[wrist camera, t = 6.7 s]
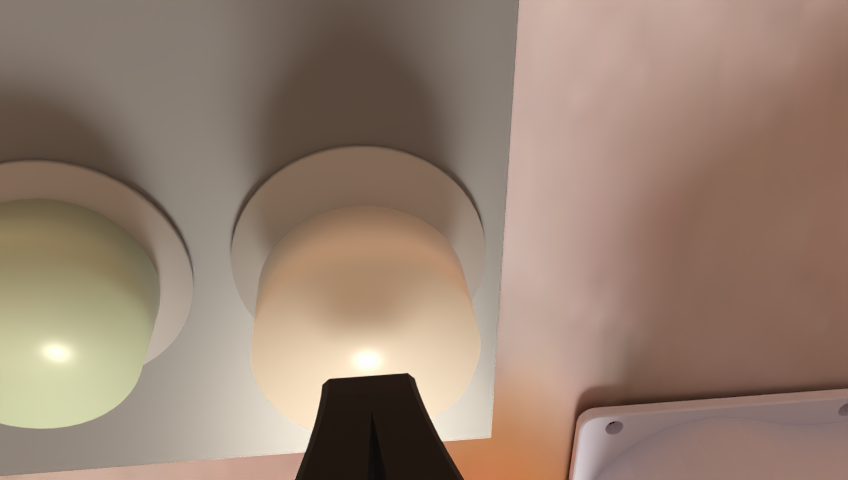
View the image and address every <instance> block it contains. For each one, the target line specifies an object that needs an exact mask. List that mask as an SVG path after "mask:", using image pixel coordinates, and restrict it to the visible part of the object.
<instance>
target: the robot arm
mask: <svg viewBox="0 0 848 480" xmlns="http://www.w3.org/2000/svg"><path fill="white" fill-rule="evenodd" d="M614 421H616V422H615V423H613V424H610V425H608V424H609V423H611V422H614ZM295 480H464V479H463V477H462V475H461V474H460V472H459V470H458V469H457V467H456V465H455V464H454V462H453V460H452V458H451V457H450V455H449V453H448V452H447V450H446V448H445V446H444V444H443V442H442V441H441V439H440V437H439V435H438V433H437V431H436V429H435V427H434V425H433V423H432V421H431V419H430V417H429V414H428V412H427V410H426V408H425V405H424V403H423V401H422V398H421V396H420V393H419V390H418V387H417V384H416V381H415V378H414V377H412V376H411V375H410V374H408V373H401V374H387V375H373V376H359V377H346V378H332V379H328V380H327V381H326V382H325V383H324V384H323V385H322V391H321V398H320V403H319V408H318V412H317V416H316V420H315V424H314V427H313V430H312V434H311V437H310V440H309V443H308V446H307V449H306V452H305V455H304V457H303V460H302V463H301V465H300V468H299V471H298V473H297V476H296V479H295ZM569 480H848V389H835V390H822V391H809V392H795V393H782V394H769V395H756V396H743V397H730V398H716V399H703V400H690V401H677V402H664V403H651V404H637V405H624V406H611V407H598V408H592V409H588V410H586V411H585V412H583V413H582V414H581V415H580V416H579V418H578V420H577V424H576V431H575V438H574V445H573V452H572V459H571V467H570V474H569Z"/></svg>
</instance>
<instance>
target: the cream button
mask: <svg viewBox="0 0 848 480" xmlns="http://www.w3.org/2000/svg"><path fill="white" fill-rule="evenodd" d="M479 354H480V335H479V330H478V325H477V321H476V317H475V314H474V310H473V306H472V302H471V298H470V295H469V291H468V287H467V283H466V279H465V276H464V272H463V268H462V265H461V263H460V260H459V257H458V256H457V254H456V252H455V250H454V249H453V247H452V246H451V244H450V243H449V242H448V241H447V239H446V238H445V237H444V236H443V235H442V234H441V233H440V232H439V231H438V230H436V229H435V228H434V227H432V226H431V225H429V224H428V223H427V222H425V221H423V220H421V219H419V218H417V217H416V216H414V215H411V214H408V213H406V212H403V211H400V210H396V209H392V208H387V207H379V206H351V207H343V208H339V209H334V210H330V211H327V212H324V213H321V214H319V215H316V216H314V217H312V218H310V219H308V220H306V221H304V222H302V223H301V224H299V225H298V226H296V227H295V228H293V229H292V230H291V231H289V232H288V233H287V234H286V235H285V236H284V237H282V239H281V240H280V241H279V242H278V243H277V244H276V245H275V246H274V248H273V249H272V251H271V252H270V254H269V255H268V257H267V259H266V261H265V263H264V265H263V268H262V271H261V274H260V278H259V284H258V292H257V301H256V310H255V318H254V327H253V336H252V344H251V365H252V369H253V373H254V376H255V379H256V381H257V384H258V386H259V388H260V389H261V391H262V392H263V394H264V396H265V397H266V398H267V399H268V400H269V402H270V403H271V404H272V405H273V406H274V407H275V408H276V409H277V410H278V411H280V412H281V413H282V414H283V415H285V416H286V417H288V418H289V419H291V420H292V421H294V422H296V423H298V424H300V425H301V426H303V427H306V428H308V429H311V430H313V427H314V424H315V420H316V416H317V412H318V408H319V403H320V398H321V391H322V385H323V384H324V383H325V382H326V381H327V380H328V379H332V378H346V377H359V376H373V375H387V374H401V373H408V374H410V375H411V376H412V377H414V378H415V381H416V384H417V387H418V390H419V393H420V396H421V398H422V401H423V403H424V405H425V408H426V410H427V412H428V414H429V417H430V419H433V418H435V417H436V416H438V415H439V414H440V413H442V412H443V411H445V410H446V409H447V408H448V407H449V406H450V405H452V404H453V403H454V402H455V401H456V400H457V399H458V398H459V396H460V395H461V394H462V393H463V392H464V390H465V389H466V387H467V386H468V384H469V383H470V381H471V379H472V377H473V375H474V373H475V371H476V367H477V364H478V361H479Z"/></svg>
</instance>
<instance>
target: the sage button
mask: <svg viewBox="0 0 848 480" xmlns="http://www.w3.org/2000/svg"><path fill="white" fill-rule="evenodd" d="M159 306H160V285H159V280H158V277H157V273H156V270H155V268H154V266H153V264H152V262H151V260H150V258H149V257H148V255H147V254H146V252H145V250H144V249H143V248H142V247H141V246H140V244H139V243H138V242H137V241H136V240H135V239H134V238H133V237H132V236H131V235H130V234H129V233H128V232H127V231H126V230H124V229H123V228H121V227H120V226H119V225H117V224H116V223H115V222H113V221H111V220H110V219H108V218H106V217H104V216H103V215H101V214H99V213H96V212H94V211H92V210H90V209H87V208H84V207H81V206H78V205H75V204H72V203H67V202H62V201H58V200H49V199H21V200H13V201H8V202H4V203H0V423H1V424H5V425H9V426H16V427H22V428H36V429H46V428H60V427H68V426H72V425H77V424H81V423H84V422H87V421H90V420H93V419H95V418H97V417H100V416H102V415H104V414H106V413H107V412H109V411H110V410H112V409H114V408H115V407H116V406H117V405H119V404H120V403H121V402H122V401H123V400H124V399H125V398H126V397H127V396H128V395H129V394H130V392H131V391H132V390H133V388H134V386H135V385H136V383H137V381H138V379H139V376H140V374H141V371H142V367H143V364H144V360H145V357H146V353H147V350H148V346H149V343H150V339H151V336H152V332H153V329H154V325H155V322H156V318H157V315H158V310H159Z"/></svg>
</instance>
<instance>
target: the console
mask: <svg viewBox="0 0 848 480" xmlns="http://www.w3.org/2000/svg"><path fill="white" fill-rule="evenodd" d="M518 8H519V0H0V203H4V202H8V201H13V200H21V199H49V200H58V201H62V202H67V203H72V204H75V205H78V206H81V207H84V208H87V209H90V210H92V211H94V212H96V213H99V214H101V215H103V216H104V217H106V218H108V219H110V220H111V221H113V222H115V223H116V224H117V225H119V226H120V227H121V228H123V229H124V230H126V231H127V232H128V233H129V234H130V235H131V236H132V237H133V238H134V239H135V240H136V241H137V242H138V243H139V244H140V246H141V247H142V248H143V249H144V250H145V252H146V254H147V255H148V257H149V258H150V260H151V262H152V264H153V266H154V268H155V270H156V273H157V277H158V280H159V285H160V306H159V310H158V315H157V318H156V322H155V325H154V329H153V332H152V336H151V339H150V343H149V346H148V350H147V353H146V357H145V360H144V364H143V367H142V371H141V374H140V376H139V379H138V381H137V383H136V385H135V386H134V388H133V390H132V391H131V392H130V394H129V395H128V396H127V397H126V398H125V399H124V400H123V401H122V402H121V403H120V404H119V405H117V406H116V407H115V408H114V409H112V410H110V411H109V412H107V413H106V414H104V415H102V416H100V417H97V418H95V419H93V420H90V421H87V422H84V423H81V424H77V425H72V426H68V427H60V428H46V429H36V428H22V427H16V426H9V425H5V424H1V423H0V476H8V475H21V474H33V473H46V472H59V471H72V470H84V469H97V468H110V467H123V466H135V465H148V464H161V463H173V462H186V461H199V460H212V459H224V458H237V457H250V456H263V455H275V454H288V453H301V452H306V449H307V446H308V443H309V440H310V437H311V434H312V430H311V429H308V428H306V427H303V426H301V425H300V424H298V423H296V422H294V421H292V420H291V419H289V418H288V417H286V416H285V415H283V414H282V413H281V412H280V411H278V410H277V409H276V408H275V407H274V406H273V405H272V404H271V403H270V402H269V400H268V399H267V398H266V397H265V396H264V394H263V392H262V391H261V389H260V388H259V386H258V384H257V381H256V379H255V376H254V373H253V369H252V365H251V344H252V336H253V327H254V318H255V310H256V301H257V292H258V284H259V278H260V274H261V271H262V268H263V265H264V263H265V261H266V259H267V257H268V255H269V254H270V252H271V251H272V249H273V248H274V246H275V245H276V244H277V243H278V242H279V241H280V240H281V239H282V237H284V236H285V235H286V234H287V233H288V232H289V231H291V230H292V229H293V228H295V227H296V226H298V225H299V224H301V223H302V222H304V221H306V220H308V219H310V218H312V217H314V216H316V215H319V214H321V213H324V212H327V211H330V210H334V209H339V208H343V207H351V206H379V207H387V208H392V209H396V210H400V211H403V212H406V213H408V214H411V215H414V216H416V217H417V218H419V219H421V220H423V221H425V222H427V223H428V224H429V225H431V226H432V227H434V228H435V229H436V230H438V231H439V232H440V233H441V234H442V235H443V236H444V237H445V238H446V239H447V241H448V242H449V243H450V244H451V246H452V247H453V249H454V250H455V252H456V254H457V256H458V257H459V260H460V263H461V265H462V268H463V272H464V276H465V279H466V283H467V287H468V291H469V295H470V298H471V302H472V306H473V310H474V314H475V317H476V321H477V325H478V330H479V335H480V354H479V361H478V364H477V367H476V371H475V373H474V375H473V377H472V379H471V381H470V383H469V384H468V386H467V387H466V389H465V390H464V392H463V393H462V394H461V395H460V396H459V398H458V399H457V400H456V401H455V402H454V403H453V404H452V405H450V406H449V407H448V408H447V409H446V410H445V411H443V412H442V413H440V414H439V415H438V416H436V417H435V418H433V419H431V421H432V423H433V425H434V427H435V429H436V431H437V433H438V435H439V437H440V439H441V441H454V440H466V439H479V438H491V427H492V411H493V396H494V380H495V365H496V349H497V334H498V318H499V303H500V287H501V272H502V256H503V240H504V225H505V209H506V194H507V178H508V163H509V147H510V132H511V116H512V101H513V85H514V70H515V54H516V39H517V23H518Z"/></svg>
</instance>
